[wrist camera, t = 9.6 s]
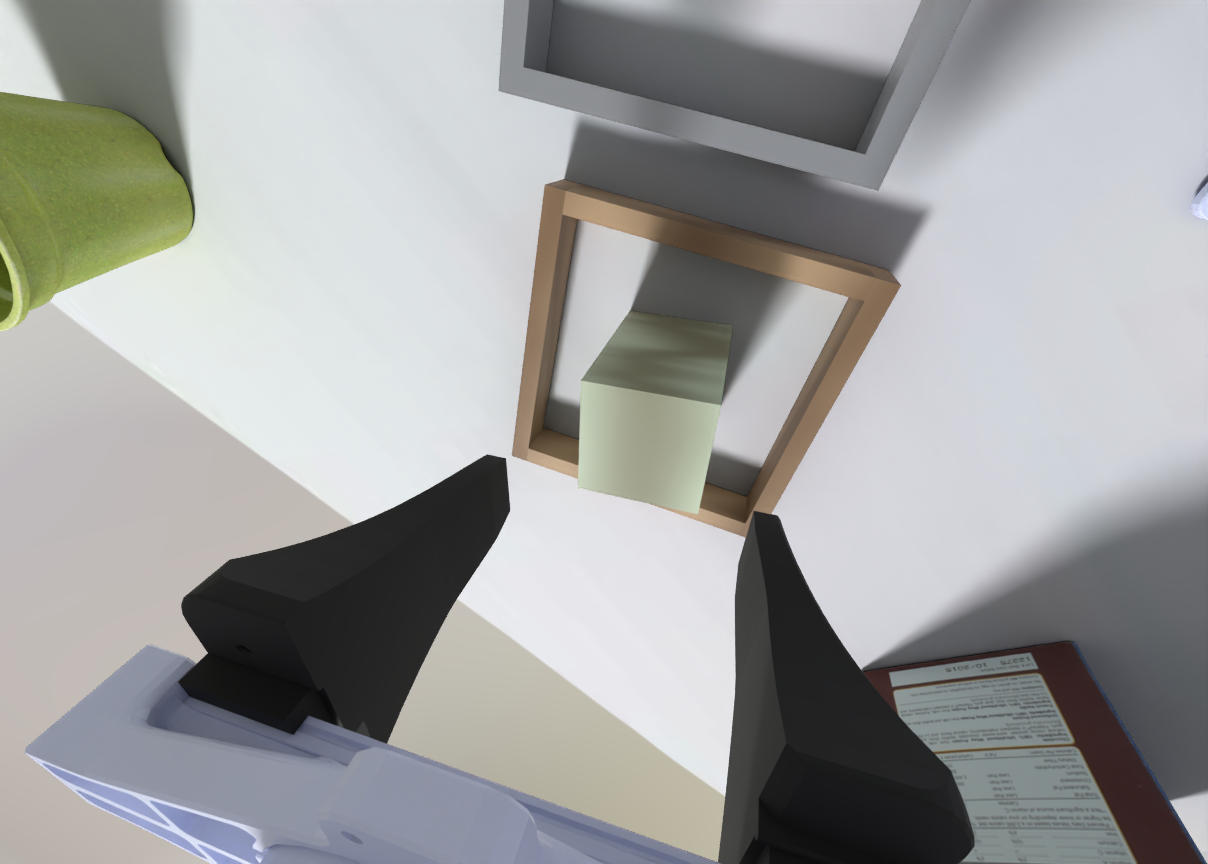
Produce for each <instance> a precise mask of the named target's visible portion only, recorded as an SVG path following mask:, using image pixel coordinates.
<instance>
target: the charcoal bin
mask: <svg viewBox="0 0 1208 864" xmlns="http://www.w3.org/2000/svg"><path fill="white" fill-rule="evenodd" d="M970 1H971V0H922V1H921V3H920V6H919V8H918V10H917V12H916V15H915V17H914V19H913V21H912V24H911V26H910V28H909V30H908V33H907V35H906V37H905V40H904V42H903V44H902V46H901V49H900V51H899V53H898V55H897V58H896V60H895V62H894V64H893V67H892V69H891V71H890V73H889V76H888V78H887V80H886V83H885V85H884V87H883V89H882V92H881V94H880V96H879V98H878V101H877V103H876V105H875V107H874V110H873V112H872V114H871V117H870V119H869V121H868V123H867V126H866V128H865V130H864V132H863V135H862V137H861V139H860V141H859V144H858V146H857V148H856V151H853V150H849V149H845V148H841V147H837V146H833V145H829V144H825V143H821V142H818V141H814V140H810V139H806V138H802V137H798V136H794V135H790V134H786V133H782V132H778V131H774V130H771V129H767V128H763V127H759V126H755V125H751V124H747V123H743V122H739V121H735V120H731V119H727V118H724V117H720V116H716V115H712V114H708V113H704V112H700V111H696V110H692V109H688V108H684V107H680V106H677V105H673V104H669V103H665V102H661V101H657V100H653V99H649V98H645V97H641V96H637V95H633V94H629V93H626V92H622V91H618V90H614V89H610V88H606V87H602V86H598V85H594V84H590V83H586V82H582V81H579V80H575V79H571V78H567V77H563V76H559V75H555V74H551V73H547V72H546V68H547V59H548V50H549V40H550V31H551V22H552V13H553V4H554V0H504V16H503V31H502V46H501V62H500V77H499V91H501V92H505V93H508V94H512V95H516V96H520V97H524V98H527V99H531V100H535V101H539V102H543V103H546V104H550V105H554V106H558V107H562V108H565V109H569V110H573V111H577V112H581V113H584V114H588V115H592V116H596V117H600V118H604V119H607V120H611V121H615V122H619V123H623V124H626V125H630V126H634V127H638V128H642V129H645V130H649V131H653V132H657V133H661V134H664V135H668V136H672V137H676V138H680V139H683V140H687V141H691V142H695V143H699V144H702V145H706V146H710V147H714V148H718V149H722V150H725V151H729V152H733V153H737V154H741V155H744V156H748V157H752V158H756V159H760V160H763V161H767V162H771V163H775V164H779V165H782V166H786V167H790V168H794V169H798V170H801V171H805V172H809V173H813V174H817V175H820V176H824V177H828V178H832V179H836V180H840V181H843V182H847V183H851V184H855V185H859V186H862V187H866V188H870V189H874V190H879V188H880V186H881V184H882V182H883V180H884V178H885V176H886V174H887V172H888V169H889V167H890V165H891V163H892V161H893V159H894V157H895V155H896V153H897V151H898V149H899V147H900V145H901V143H902V141H903V139H904V136H905V134H906V132H907V130H908V128H909V126H910V124H911V122H912V120H913V118H914V116H915V114H916V112H917V110H918V108H919V106H920V104H921V101H922V99H923V97H924V95H925V93H926V91H927V89H928V87H929V85H930V83H931V81H932V79H933V77H934V75H935V73H936V71H937V69H938V66H939V64H940V62H941V60H942V58H943V56H944V54H945V52H946V50H947V48H948V46H949V44H950V42H951V40H952V38H953V36H954V33H955V31H956V29H957V27H958V25H959V23H960V21H961V19H962V17H963V15H964V13H965V11H966V9H967V7H968V5H969V3H970Z"/></svg>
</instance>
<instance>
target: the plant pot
mask: <svg viewBox="0 0 1208 864" xmlns="http://www.w3.org/2000/svg"><path fill="white" fill-rule="evenodd" d="M192 220H193V212H192V204H191V199H190V195H189V192H188V189H187V186H186V184H185V182H184V179H183V178H182V176H181V175H180V174H179V173H178V172H177V171H176V170H175V169H174V168H173V167H172V166H171V165H170V163H169V162H168V160H167V159H166V157H165V156H164V154H163V151H162V149H161V145H160V142H159V141H158V140H157V139H156V138H155V137H154V136H153V135H152V134H151V133H150V132H149V131H148V130H147V129H146V128H145V127H144V126H142V125H141V124H140V123H138V122H137V121H136V120H134V119H132V118H131V117H129V116H127V115H125V114H123V113H121V112H119V111H116V110H113V109H109V108H104V107H97V106H90V105H84V104H77V103H71V102H64V101H58V100H51V99H44V98H37V97H30V96H24V95H17V94H11V93H4V92H0V331H4V330H8V329H10V328H13V327H15V326H17V325H18V324H20V323H21V322H22V321H23V320H24V319H25V317H26V315H27V313H28V311H30V310H32V309H35V308H37V307H39V306H41V305H44V304H45V303H46V302H48V301H49V300H51V299H52V297H53V296H54V294H56V293H58V292H60V291H63V290H65V289H68V288H70V287H73V286H75V285H77V284H80V283H82V282H85V281H87V280H89V279H92V278H94V277H97V276H99V275H101V274H104V273H106V272H109V271H111V270H114V269H116V268H118V267H121V266H123V265H126V264H128V263H131V262H134V261H136V260H139V259H141V258H144V257H146V256H149V255H152V254H154V253H157V252H160V251H162V250H165V249H167V248H170V247H172V246H174V245H176V244H178V243H179V242H181V241H182V240H184V239H185V238H186V237H187V236H188V234H189V232H190V230H191V227H192Z"/></svg>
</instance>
